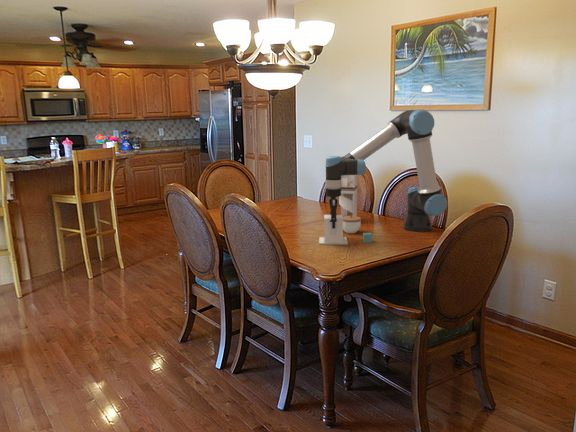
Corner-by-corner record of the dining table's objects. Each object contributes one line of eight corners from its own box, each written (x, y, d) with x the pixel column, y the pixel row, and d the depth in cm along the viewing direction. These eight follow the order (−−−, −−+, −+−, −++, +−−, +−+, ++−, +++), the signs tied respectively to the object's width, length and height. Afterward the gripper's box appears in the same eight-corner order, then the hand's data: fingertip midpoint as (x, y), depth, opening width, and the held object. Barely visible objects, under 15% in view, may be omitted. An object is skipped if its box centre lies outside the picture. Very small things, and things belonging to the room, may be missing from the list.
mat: (346, 238, 241) (346, 237, 241) (347, 244, 229) (347, 243, 229) (319, 238, 242) (319, 237, 242) (319, 244, 230) (319, 243, 230)
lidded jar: (345, 235, 247) (345, 217, 245) (337, 230, 257) (337, 213, 255) (364, 233, 250) (364, 216, 248) (356, 229, 260) (356, 212, 258)
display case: (339, 219, 284) (339, 161, 277) (356, 219, 282) (357, 161, 274) (335, 223, 274) (336, 163, 266) (353, 224, 271) (354, 163, 263)
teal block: (371, 240, 236) (371, 232, 235) (371, 242, 232) (372, 234, 231) (363, 240, 236) (363, 232, 236) (363, 242, 232) (363, 234, 232)
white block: (341, 237, 239) (342, 214, 237) (342, 242, 231) (342, 218, 228) (324, 237, 240) (324, 214, 237) (324, 242, 231) (324, 218, 229)
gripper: (325, 184, 241) (325, 226, 246) (326, 191, 219) (326, 237, 223) (340, 184, 241) (339, 226, 245) (342, 191, 218) (341, 237, 223)
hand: (333, 231), depth 234 cm, fingers open, 11 cm apart
